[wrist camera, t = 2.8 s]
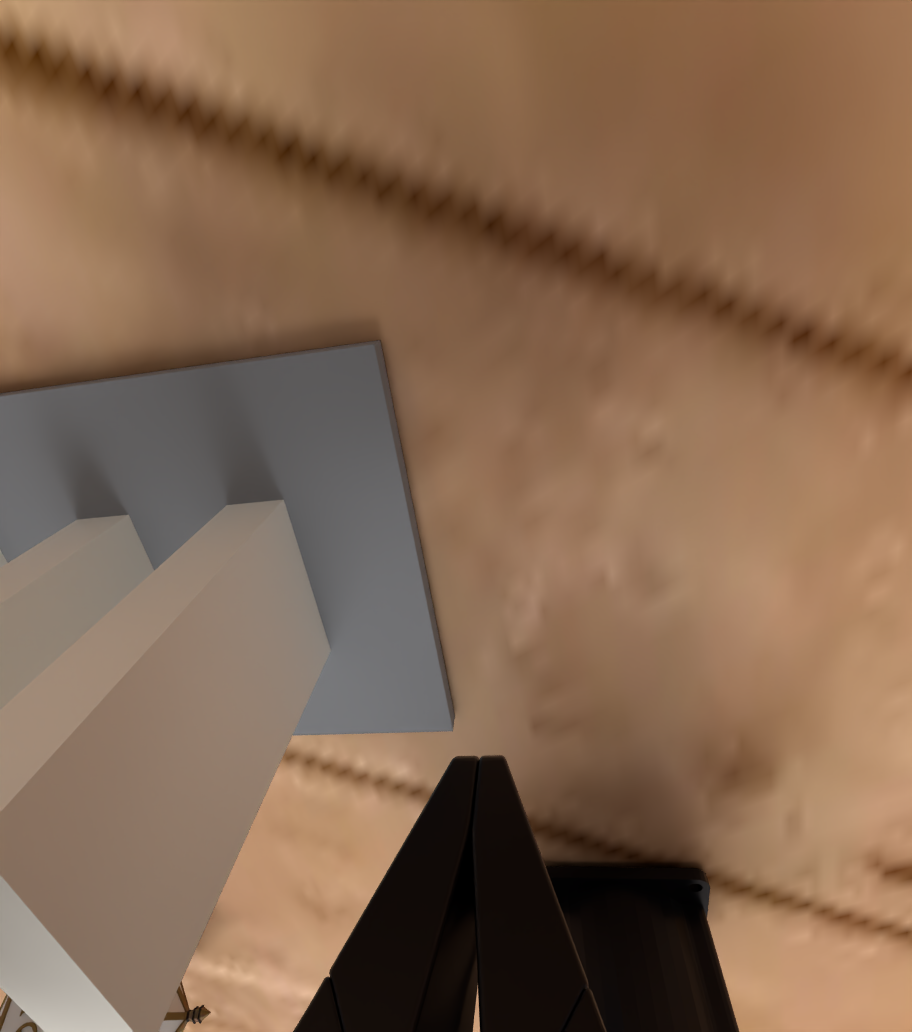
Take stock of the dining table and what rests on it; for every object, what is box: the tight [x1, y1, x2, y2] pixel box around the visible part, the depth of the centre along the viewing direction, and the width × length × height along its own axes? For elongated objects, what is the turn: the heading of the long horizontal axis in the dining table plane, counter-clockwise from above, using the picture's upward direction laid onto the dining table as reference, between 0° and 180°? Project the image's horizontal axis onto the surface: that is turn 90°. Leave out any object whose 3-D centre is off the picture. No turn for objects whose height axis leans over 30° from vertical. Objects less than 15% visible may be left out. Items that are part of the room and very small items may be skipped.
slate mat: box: [0, 340, 455, 735], centre depth 17 cm, size 26×12×1 cm, turn 98°
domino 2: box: [0, 500, 331, 1032], centre depth 11 cm, size 2×5×9 cm, turn 8°
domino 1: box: [0, 515, 154, 710], centre depth 12 cm, size 2×5×9 cm, turn 8°
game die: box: [0, 981, 211, 1032], centre depth 22 cm, size 9×8×10 cm
